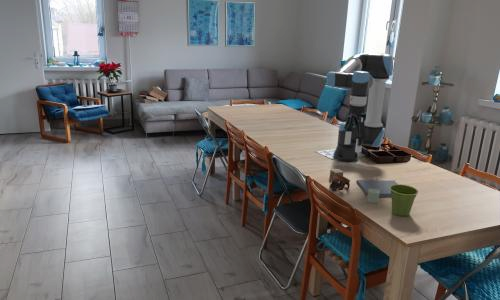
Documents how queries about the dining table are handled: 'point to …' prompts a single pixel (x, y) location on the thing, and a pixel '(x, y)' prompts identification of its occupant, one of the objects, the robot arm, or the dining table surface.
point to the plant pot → (402, 199)
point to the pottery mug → (341, 185)
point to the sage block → (373, 195)
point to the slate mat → (377, 186)
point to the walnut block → (335, 173)
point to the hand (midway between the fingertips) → (352, 148)
